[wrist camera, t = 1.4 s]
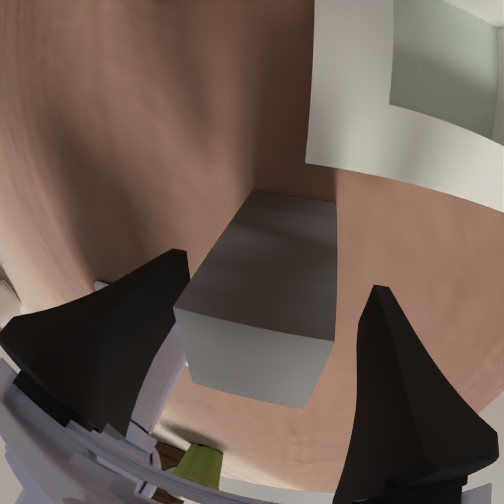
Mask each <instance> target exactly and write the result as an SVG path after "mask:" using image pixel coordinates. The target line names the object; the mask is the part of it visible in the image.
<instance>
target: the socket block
mask: <svg viewBox="0 0 504 504" xmlns="http://www.w3.org/2000/svg"><path fill="white" fill-rule="evenodd" d="M305 163H308V164H315V165H321V166H328V167H334V168H340V169H345V170H351V171H356V172H361V173H366V174H371V175H376V176H381V177H385V178H390V179H394V180H398V181H402V182H407V183H411V184H415V185H418V186H422V187H426V188H430V189H433V190H437V191H440V192H444V193H447V194H451V195H454V196H457V197H460V198H464V199H467V200H470V201H473V202H476V203H479V204H482V205H485V206H487V207H490V208H493V209H496V210H498V211H501V212H504V0H315V18H314V48H313V68H312V85H311V100H310V114H309V126H308V138H307V148H306V159H305Z"/></svg>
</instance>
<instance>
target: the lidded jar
mask: <svg viewBox="0 0 504 504" xmlns="http://www.w3.org/2000/svg"><path fill="white" fill-rule="evenodd" d="M20 307H21V302H20V300H19V298H18V296H17V295H16V293H15V292H14V290H13V289H12V287H11V286H10V285H9V284H8V283H7V282H6V281H5V280H4V279H2V280H0V331H1V330H2V329H3V328H4V326H5V325H6V324H7V323H8V322H9V321H10V320H11V318H13V317H14V316H20V314H21V311H20Z"/></svg>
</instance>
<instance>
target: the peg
mask: <svg viewBox="0 0 504 504" xmlns="http://www.w3.org/2000/svg"><path fill="white" fill-rule="evenodd" d="M336 301H337V212H336V203H335V202H330V201H324V200H318V199H311V198H305V197H299V196H292V195H285V194H278V193H270V192H263V191H255V190H253V191H252V192H251V193H250V195H249V196H248V198H247V199H246V200H245V202H244V203H243V205H242V206H241V207H240V209H239V210H238V212H237V213H236V214H235V216H234V217H233V219H232V220H231V222H230V223H229V224H228V226H227V227H226V229H225V230H224V232H223V233H222V234H221V236H220V237H219V239H218V240H217V242H216V243H215V245H214V246H213V248H212V249H211V250H210V252H209V253H208V255H207V256H206V258H205V259H204V261H203V262H202V264H201V265H200V267H199V268H198V270H197V271H196V273H195V274H194V276H193V277H192V279H191V280H190V282H189V283H188V285H187V286H186V288H185V289H184V291H183V292H182V294H181V295H180V297H179V298H178V300H177V301H176V303H175V304H174V306H173V310H174V314H175V318H176V322H177V326H178V330H179V334H180V338H181V342H182V345H183V349H184V353H185V356H186V360H187V363H188V367H189V370H190V374H191V377H192V380H193V383H196V384H199V385H203V386H206V387H209V388H213V389H216V390H220V391H223V392H227V393H231V394H235V395H239V396H243V397H247V398H251V399H255V400H260V401H264V402H269V403H274V404H279V405H284V406H290V407H296V408H302V409H304V408H305V406H306V404H307V401H308V399H309V397H310V395H311V393H312V391H313V389H314V387H315V385H316V383H317V380H318V378H319V376H320V374H321V372H322V369H323V367H324V365H325V363H326V360H327V358H328V356H329V353H330V351H331V348H332V346H333V344H334V339H335V323H336Z"/></svg>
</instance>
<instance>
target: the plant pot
mask: <svg viewBox="0 0 504 504" xmlns="http://www.w3.org/2000/svg"><path fill="white" fill-rule="evenodd" d="M222 460H223V454H221V453H220V452H218V451H217V450H213V449H211V448H209V447H205V446H199V445H197V444H191V446H190V447H189V449H188V450H187V452H186V453H185V455H184V457H183V458H182V460H181V461H180V463H179V464H178V466H177V467H176V469H175V470H174V472H173V473H171V474H173V475H175V476H178V477H181V478H183V479H186V480H189V481H192V482H194V483H197V484H200V485H203V486H206V487H210V488H213V489H216V490H219V488H218V487H219V480H220V473H221V467H222Z"/></svg>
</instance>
